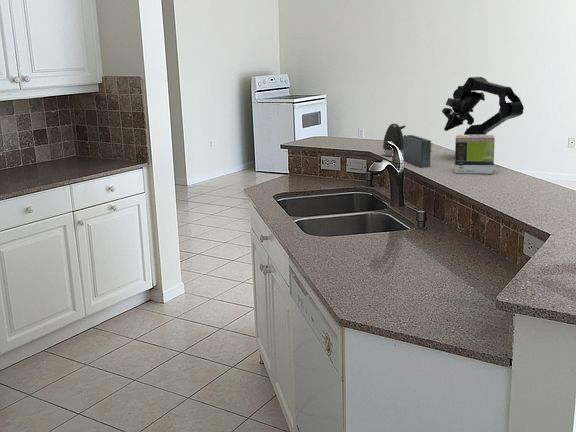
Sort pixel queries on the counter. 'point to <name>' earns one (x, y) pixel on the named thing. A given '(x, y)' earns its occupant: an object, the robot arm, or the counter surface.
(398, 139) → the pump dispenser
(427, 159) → the button panel
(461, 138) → the tea box
